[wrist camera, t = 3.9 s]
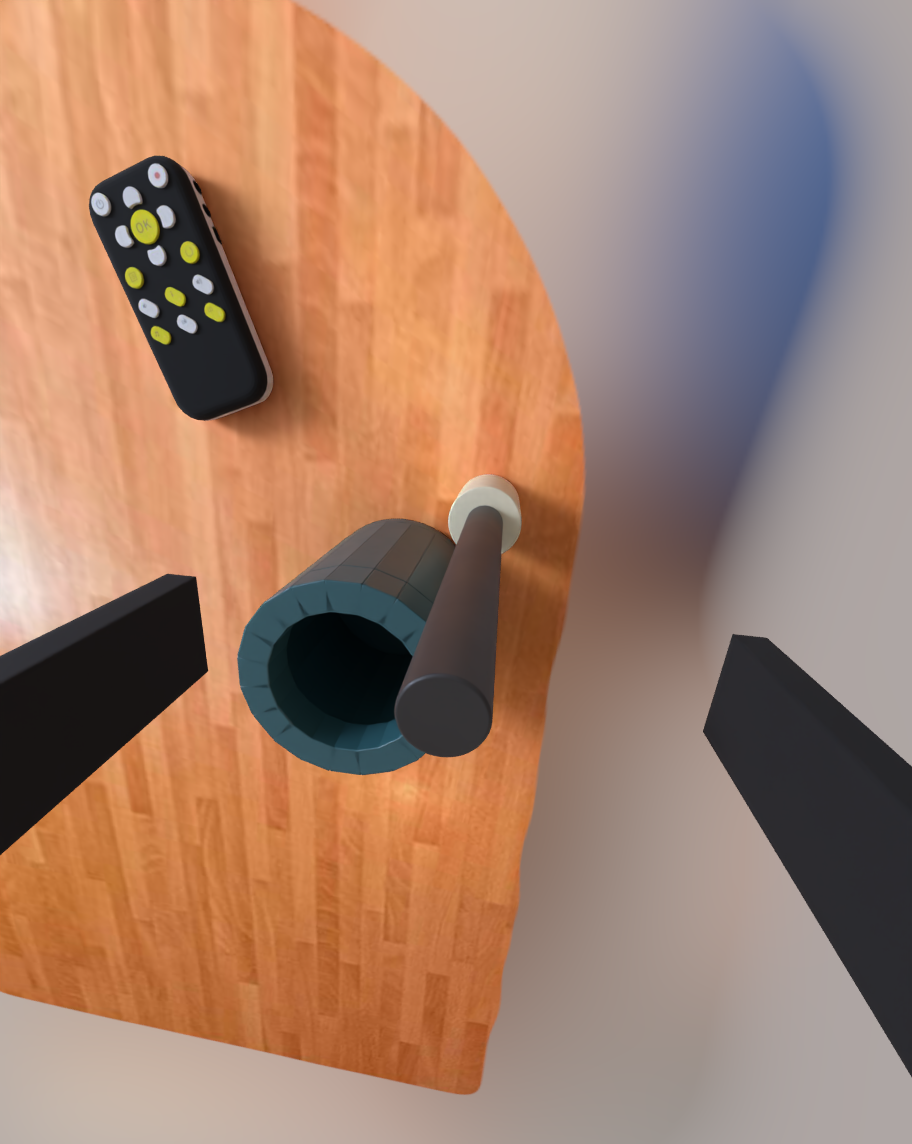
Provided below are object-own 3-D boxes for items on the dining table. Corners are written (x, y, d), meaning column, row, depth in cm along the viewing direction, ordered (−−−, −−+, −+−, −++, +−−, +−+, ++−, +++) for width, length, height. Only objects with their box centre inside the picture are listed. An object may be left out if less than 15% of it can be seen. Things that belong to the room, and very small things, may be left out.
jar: (480, 526, 30) (463, 594, 19) (467, 662, 34) (447, 788, 23) (329, 511, 31) (227, 569, 20) (331, 646, 35) (246, 759, 23)
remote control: (201, 426, 30) (181, 427, 28) (100, 203, 27) (69, 188, 25) (284, 395, 29) (269, 394, 27) (191, 158, 25) (166, 138, 24)
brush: (523, 476, 29) (557, 641, 9) (515, 538, 30) (530, 809, 10) (459, 471, 29) (343, 617, 9) (455, 532, 31) (345, 783, 10)
